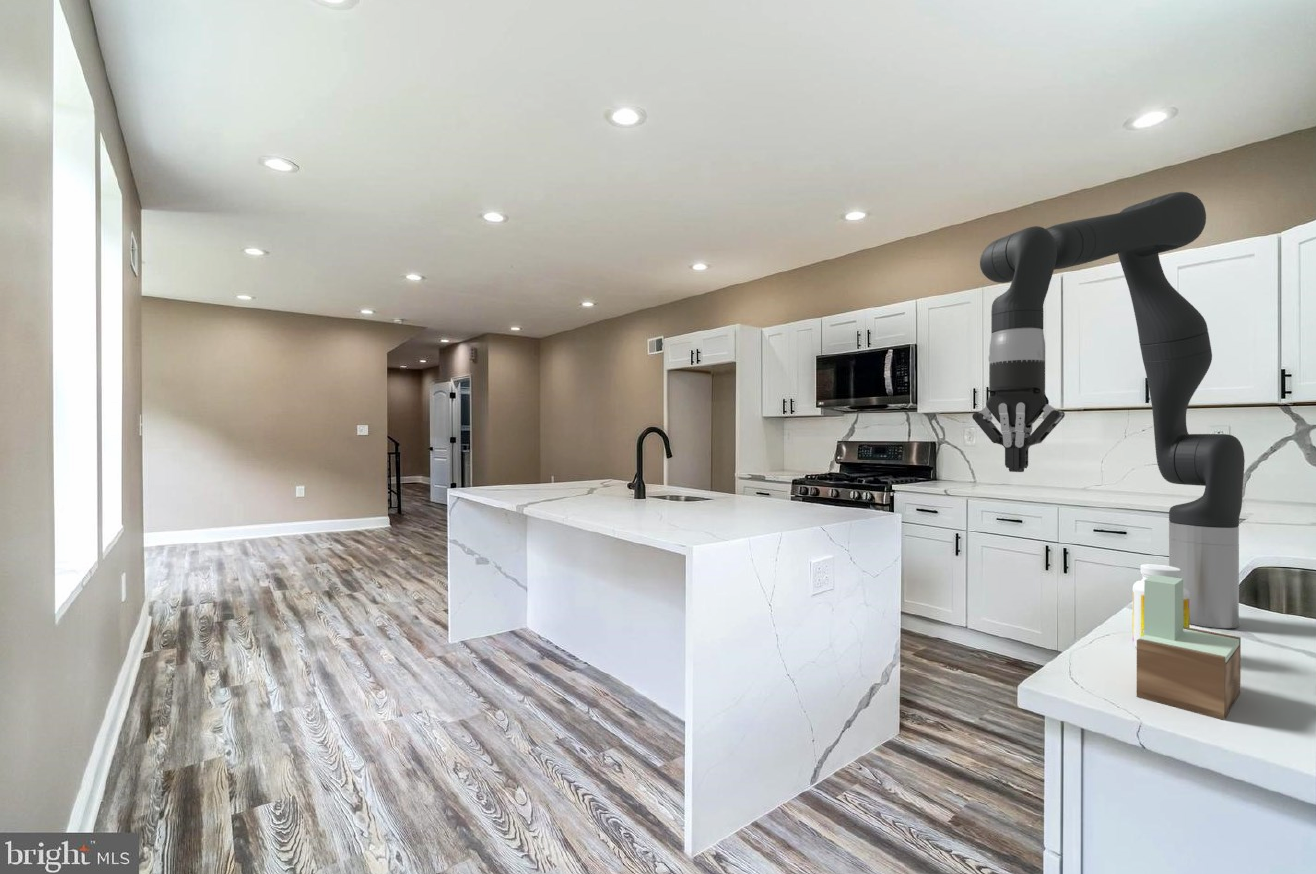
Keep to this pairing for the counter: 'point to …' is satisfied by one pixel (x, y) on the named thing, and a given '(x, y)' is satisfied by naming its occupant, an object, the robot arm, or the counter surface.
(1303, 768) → the counter surface
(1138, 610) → the supplement bottle
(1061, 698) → the counter surface
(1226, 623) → the robot arm
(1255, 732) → the counter surface
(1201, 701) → the walnut box
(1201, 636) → the sage lid
